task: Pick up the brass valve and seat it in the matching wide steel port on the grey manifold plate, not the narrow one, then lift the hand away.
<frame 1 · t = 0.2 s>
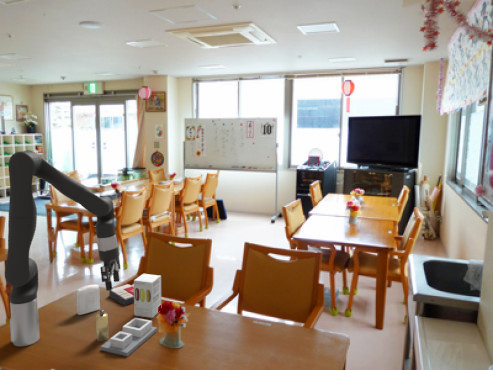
hand: (113, 285, 155), 21 cm above the table, tool pointing down, fingers open, 8 cm apart
supplement box: (148, 312, 179), on the table
valve: (102, 338, 156), on the table
printed cardboard box: (126, 298, 194), on the table
manifold: (130, 340, 155), on the table
photo printer: (88, 311, 179), on the table
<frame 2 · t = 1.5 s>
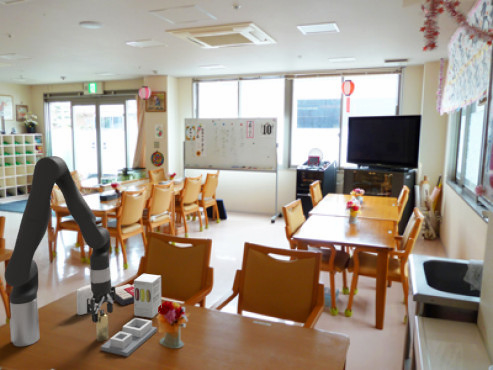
hand: (102, 317, 154), 9 cm above the table, tool pointing down, fingers open, 8 cm apart
nothing on the table moved.
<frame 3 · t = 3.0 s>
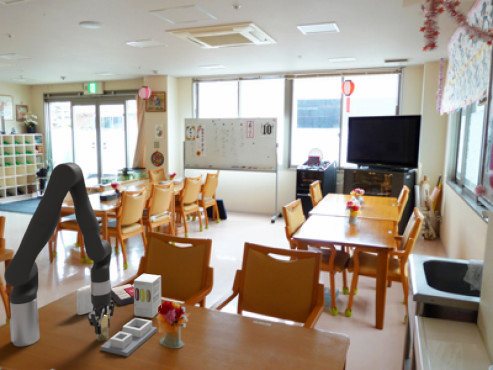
hand: (102, 330, 155), 3 cm above the table, tool pointing down, fingers closed on valve, 4 cm apart
valve: (102, 338, 156), on the table, touching gripper
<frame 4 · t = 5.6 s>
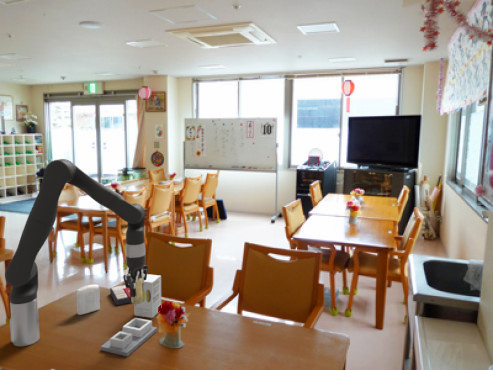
hand: (136, 294, 157), 17 cm above the table, tool pointing down, fingers closed on valve, 4 cm apart
valve: (137, 301, 158), point 14 cm above the table, touching gripper
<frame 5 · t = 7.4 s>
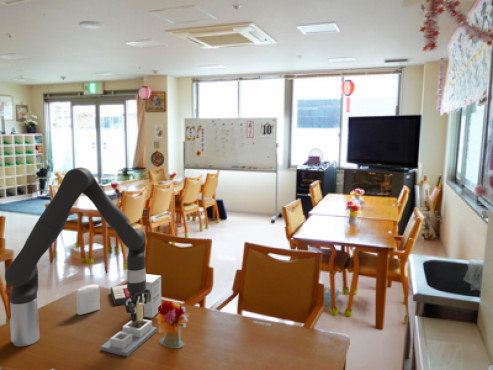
hand: (137, 318, 159), 7 cm above the table, tool pointing down, fingers closed on valve, 4 cm apart
valve: (137, 325, 159), point 4 cm above the table, touching gripper
when the fingers open (6 cm above the table, at t = 8.5 s): valve stays where it is, resting on manifold.
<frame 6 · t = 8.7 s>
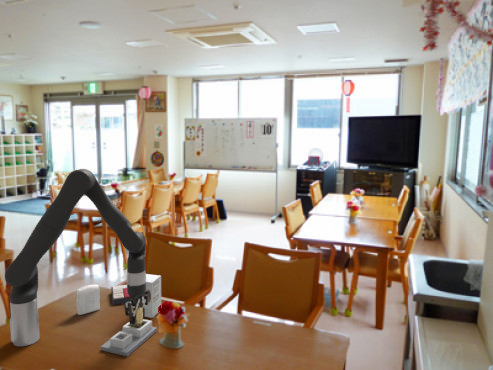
hand: (137, 320, 159), 6 cm above the table, tool pointing down, fingers open, 6 cm apart
valve: (137, 330, 159), point 2 cm above the table, touching manifold
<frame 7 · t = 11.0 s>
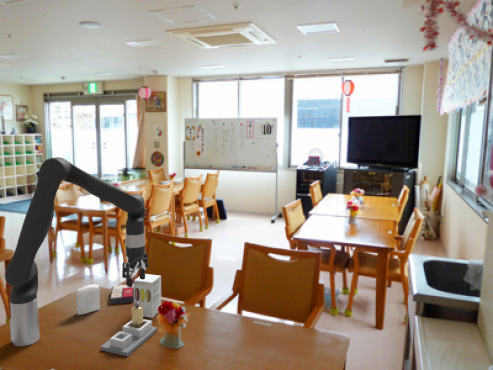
hand: (136, 282, 157), 22 cm above the table, tool pointing down, fingers open, 8 cm apart
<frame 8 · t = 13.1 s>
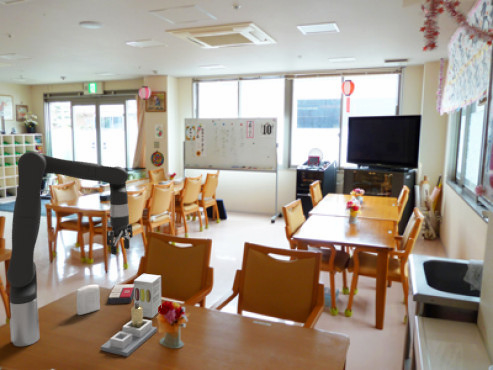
hand: (120, 251, 165), 32 cm above the table, tool pointing down, fingers open, 8 cm apart
at the end: valve 0.0 cm from the target spot on the manifold, point 1.5 cm above the manifold's base; valve tilted 1°; the gripper is holding nothing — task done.
